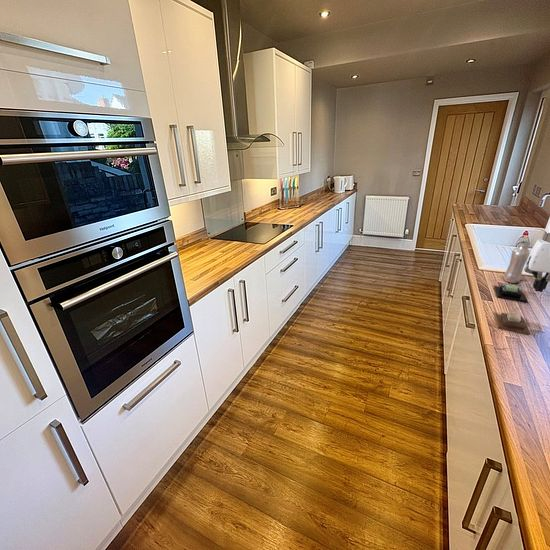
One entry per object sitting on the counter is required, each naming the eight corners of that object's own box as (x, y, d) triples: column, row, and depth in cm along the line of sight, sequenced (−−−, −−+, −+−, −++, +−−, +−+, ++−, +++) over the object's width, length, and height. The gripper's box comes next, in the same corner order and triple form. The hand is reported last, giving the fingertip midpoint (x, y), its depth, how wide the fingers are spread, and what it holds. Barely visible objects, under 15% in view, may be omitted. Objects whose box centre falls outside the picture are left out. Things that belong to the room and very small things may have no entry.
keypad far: (520, 292, 131) (522, 286, 129) (525, 303, 123) (528, 296, 121) (493, 288, 135) (495, 282, 134) (496, 297, 127) (499, 291, 126)
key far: (515, 289, 128) (516, 285, 128) (516, 292, 125) (518, 289, 125) (505, 287, 130) (506, 284, 129) (506, 291, 127) (507, 287, 126)
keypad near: (522, 322, 110) (525, 315, 109) (528, 335, 103) (531, 328, 102) (494, 316, 114) (496, 310, 113) (498, 328, 107) (500, 322, 106)
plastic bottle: (521, 285, 136) (537, 245, 128) (504, 283, 139) (518, 244, 130) (516, 279, 142) (531, 241, 133) (500, 277, 144) (513, 239, 135)
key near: (517, 318, 108) (519, 314, 108) (519, 323, 106) (521, 319, 105) (506, 316, 110) (508, 312, 109) (508, 320, 107) (509, 317, 106)
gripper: (585, 237, 91) (562, 289, 98) (525, 232, 97) (508, 281, 105) (595, 244, 85) (570, 299, 92) (530, 239, 91) (512, 290, 99)
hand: (537, 289), depth 98 cm, fingers closed
